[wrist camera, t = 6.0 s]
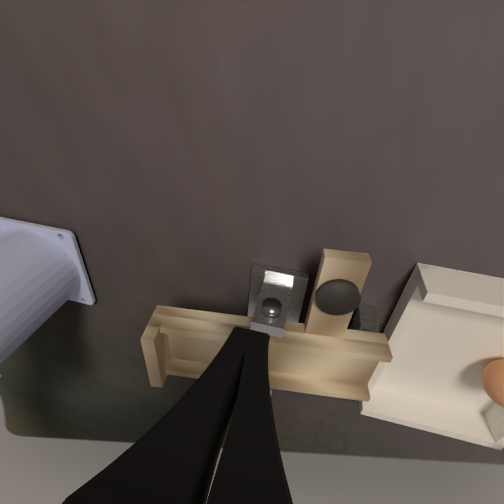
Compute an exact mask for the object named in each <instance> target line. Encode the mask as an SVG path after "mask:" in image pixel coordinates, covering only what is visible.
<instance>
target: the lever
mask: <svg viewBox="0 0 504 504" xmlns="http://www.w3.org/2000/svg"><path fill="white" fill-rule="evenodd" d="M371 264H372V261H371V259H370V256H369V254H368V253H359V252H350V251H342V250H333V249H323V252H322V256H321V260H320V264H319V268H318V272H317V276H316V280H315V284H314V288H313V292H312V296H311V300H310V304H309V308H308V312H307V316H306V320H305V324H303V323H295V322H287V321H286V322H285V328H284V333H283V338H280V337H276V336H271V335H269V336H270V340H269V349H268V371H269V384H270V388H271V389H278V390H286V391H293V392H301V393H308V394H315V395H323V396H330V397H338V398H345V399H353V400H360V401H367V402H368V401H369V400H370V393H369V389H368V382H369V380H370V378H371V376H372V375H373V373H374V371H375V369H376V367H377V365H378V363H379V361H380V362H388V363H390V362H391V360H392V358H393V357H392V353H391V350H390V347H389V344H388V341H387V338H386V335H385V334H383V333H375V332H367V331H359V330H351V329H347V327H348V324H349V322H350V319H351V317H352V314H353V311H354V310H355V309H356V308H357V307H358V306H359V304H360V301H361V297H360V293H361V290H362V288H363V285H364V282H365V280H366V277H367V274H368V272H369V269H370V266H371ZM251 320H252V317H247V316H239V315H231V314H223V313H215V312H207V311H199V310H191V309H183V308H175V307H167V306H159V305H157V307H156V309H155V311H154V313H153V315H152V317H151V319H150V321H149V323H148V325H147V327H146V329H145V331H144V333H143V335H142V337H141V339H140V340H141V344H142V349H143V353H144V357H145V362H146V366H147V371H148V375H149V380H150V384H151V386H154V387H161V388H162V387H163V384H164V382H165V379H166V376H167V375H175V376H182V377H189V378H197V379H198V378H199V377H200V376H201V375H202V373H203V372H204V371H205V369H206V368H207V367H208V366H209V364H210V363H211V362H212V360H213V359H214V358H215V356H216V355H217V353H218V352H219V351H220V349H221V348H222V346H223V345H224V343H225V342H226V340H227V338H228V337H229V335H230V333H231V332H232V330H233V328H234V327H236V326H237V327H242V328H246V329H250V327H251Z"/></svg>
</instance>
